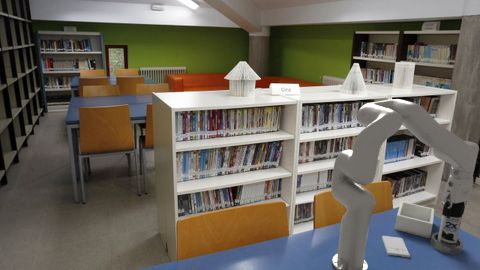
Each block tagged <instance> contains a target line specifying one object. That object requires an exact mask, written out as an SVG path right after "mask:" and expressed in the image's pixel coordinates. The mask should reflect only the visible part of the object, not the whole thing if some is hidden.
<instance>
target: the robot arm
mask: <svg viewBox="0 0 480 270" xmlns="http://www.w3.org/2000/svg"><path fill="white" fill-rule="evenodd" d="M356 118H357V122H358V123H359V124H360V125H361V126H363V127H364V129H362V130H361V131H360V132H359V133H358V134H357V136H355V140H354V141H353V142H354V143H353V147H352V149H344V150H343V151H341V152H340V153H339V154H338V155H337V157H336V158H335V160H334V163H333V170H332V171H333V172H332V178H331V189H330V190H331V195H332V197H333V198H334V199H335V200H336V201H337V202H338V203H340V204H342V206H343V207H345V209H346V212H345V213H344V214H343V216H342V217H341V221H340V229H339V237H338V245H337V253H336V254H335V255H334V256H333V257H332V260H331V261H332V262H331V263H332V266H333V267H334V268H335V270H368V263H367V262H366V260H365V255H366V248H367V243H368V234H369V229H370V222H371V217H372V216H373V212H374V209H375V207H376V199H375V196H374V195H373V193H372V192H371V191H370V190H369V189H367V188H366V187H364V186H369V185H370V184H372V183H373V182H374V180H375V178H376V174H377V167H378V166H377V165H378V161H379V155H380V150H381V147H382V146H383V144H384V143H385V141H387V140H388V139H389V138H390V137H392V136H393V135H394V134H396V133H397V132H398V131H399V130H400V129H401V128H402V126H403V127H405V128H406V129H407V130H408V131H409V132H410V133H411V134H412V135H413V136H414V137H415V138H417V139H418V141H419V142H421V143H423V144H425V145H426V146H428V147H430V148H432V155H433V156H434V157H435V158H436V159H438V160H441V161H442V162H445V163H447V164H449V165H451V166H450V171H449V176H448V179H447V181H446V184H445V188H444V192H443V196H441V198H440V202H441V204H442V206H443V207H442V213H441V215H444V216H446V217H448V218H450V216H451V211H452V209H451V207H452V205H453V203H460V202H462V203H463V206H464V207H463V215H464V212H465V209H466V206H467V205H468V204H467V203H468V201H470V200H471V198H472V194H473V187H474V172H475V169H476V163H477V158H478V155H479V151H480V148H479V145H478V144H477V143H475V142H473V141H469V140H464V139H463V138H461V137H459V136H458V135H456V134H454V132H451V131H450V130H449V129H447V128H446V127H445V126H443V125H441V123H439V122H438V121H437V120H436V119H435V118H434V117H433V116H432V115H431V114H430V113H429V112H428V111H427V110H426V109H425V108H424V107H423V106H422V105H420V104H418V103H415V102H412V101H408V100H404V99H399V98H396V99H388V100H387V99H386V100H381V101H375V102H368V103H365V104H363V105H362V106H361V107H360V108H359V109H358V111H357V115H356ZM449 199H450V200H449ZM448 201H450V204H448V203H447V202H448Z"/></svg>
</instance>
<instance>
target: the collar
mask: <svg viewBox="0 0 480 270" xmlns="http://www.w3.org/2000/svg"><path fill="white" fill-rule="evenodd" d="M438 235H439V232H435V233H431V236H430V246H432V248H433V249H435V250H436V251H438V252H440V253H443V254H447V255H451V256H452V255H453V256H454V255H456V256H458V255H460V254H462V253H463V248H464V242H463V241H462V240H461V239H460V238H459V237H458V238H457V243H456V247H450V246H447V245H443V244H441V243H439V242H438Z"/></svg>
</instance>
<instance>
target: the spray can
mask: <svg viewBox="0 0 480 270" xmlns="http://www.w3.org/2000/svg"><path fill="white" fill-rule="evenodd" d="M449 200H450V199H449ZM447 203H448V204H450V201H448V202H447ZM464 206H465V205H464ZM464 206H463V203H462V202H460V203H453V205H452V207H451V209H452V211H451V216H450V218H448V217H446V216H444V215H442V214H441V215H442V217H441V222H440V226H439V230H438V233H439V235H438V240H437V241H438V242H439V243H441V244H443V245H447V246H450V247H457V246H456V243H457V238H459V233H460V229H461V228H460V227H461V224H462V223H461V222H462V219H463V215H464V214H463V207H464Z"/></svg>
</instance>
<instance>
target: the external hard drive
mask: <svg viewBox="0 0 480 270" xmlns="http://www.w3.org/2000/svg"><path fill="white" fill-rule="evenodd" d="M381 239H382V242H383V244H384V248H385V251H386V253H387V255H388V256H393V257H394V256H396V257H397V256H399V257H403V258H410V257H411V254H410V252H409V251H408V249H407V246H406V243H405V240H404V239H403V238H402V237H397V236H395V237H394V236H389V235H382V236H381Z"/></svg>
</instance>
